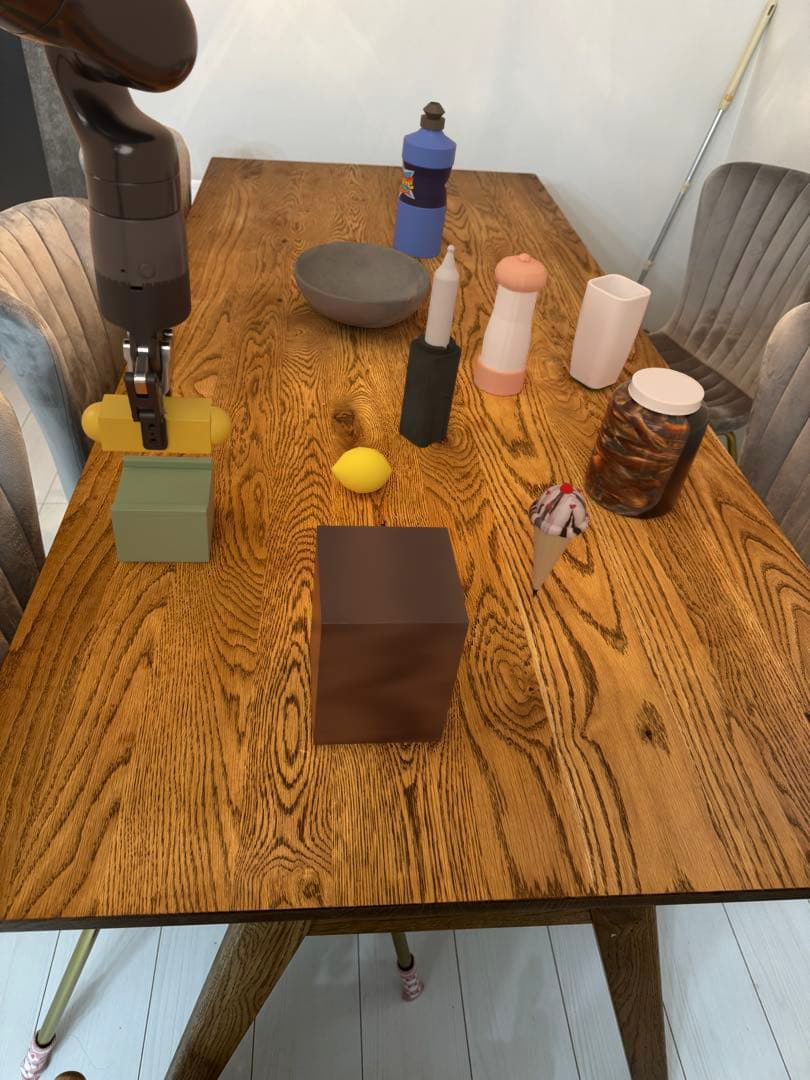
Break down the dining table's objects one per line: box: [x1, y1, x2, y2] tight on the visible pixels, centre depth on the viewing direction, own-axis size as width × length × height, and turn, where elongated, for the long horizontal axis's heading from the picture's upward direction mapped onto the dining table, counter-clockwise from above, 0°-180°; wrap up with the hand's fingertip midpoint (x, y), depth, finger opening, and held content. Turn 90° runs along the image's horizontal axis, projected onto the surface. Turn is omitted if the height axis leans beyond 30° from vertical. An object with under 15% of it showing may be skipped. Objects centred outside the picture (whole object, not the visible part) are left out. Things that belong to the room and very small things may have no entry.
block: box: [109, 454, 216, 563], centre depth 84 cm, size 9×9×7 cm
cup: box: [569, 273, 652, 390], centre depth 118 cm, size 7×7×15 cm
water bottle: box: [392, 101, 457, 259], centre depth 146 cm, size 9×9×25 cm
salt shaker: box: [472, 252, 548, 397], centre depth 112 cm, size 7×7×19 cm
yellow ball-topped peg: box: [81, 393, 233, 455], centre depth 77 cm, size 14×4×4 cm, turn 97°
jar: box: [583, 367, 711, 519], centre depth 97 cm, size 12×12×15 cm
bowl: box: [292, 240, 431, 329], centre depth 127 cm, size 21×21×8 cm
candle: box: [398, 244, 462, 448], centre depth 98 cm, size 5×5×25 cm
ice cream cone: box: [528, 482, 590, 599], centre depth 80 cm, size 6×6×15 cm
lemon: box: [331, 446, 393, 494], centre depth 94 cm, size 7×5×5 cm
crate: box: [309, 524, 470, 746], centre depth 69 cm, size 11×11×15 cm
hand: (158, 433), depth 78 cm, fingers closed on yellow ball-topped peg, 4 cm apart
